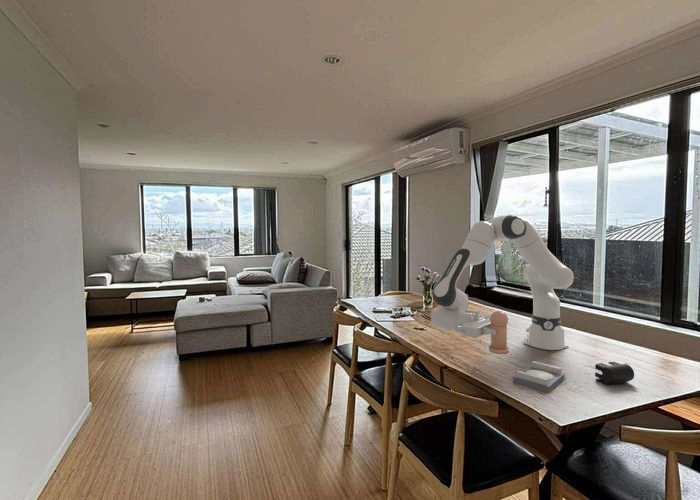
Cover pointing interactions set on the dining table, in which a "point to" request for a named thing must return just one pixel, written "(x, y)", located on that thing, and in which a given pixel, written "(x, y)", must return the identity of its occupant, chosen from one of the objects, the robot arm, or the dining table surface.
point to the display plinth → (540, 376)
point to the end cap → (614, 373)
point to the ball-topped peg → (499, 333)
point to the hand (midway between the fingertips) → (501, 330)
